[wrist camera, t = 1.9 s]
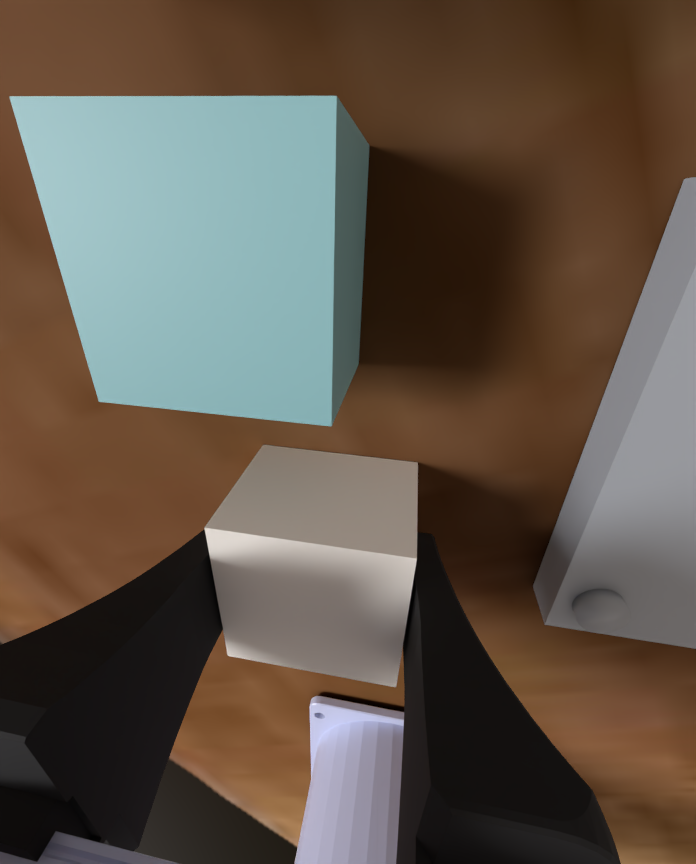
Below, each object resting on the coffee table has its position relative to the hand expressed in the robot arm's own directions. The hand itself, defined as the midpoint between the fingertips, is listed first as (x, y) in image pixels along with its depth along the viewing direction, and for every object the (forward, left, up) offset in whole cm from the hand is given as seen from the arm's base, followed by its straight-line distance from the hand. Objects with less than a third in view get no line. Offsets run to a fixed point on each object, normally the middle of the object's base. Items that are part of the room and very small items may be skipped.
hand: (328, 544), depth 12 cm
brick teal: (+8, +2, -2) cm, 8 cm away
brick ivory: (0, 0, -1) cm, 1 cm away
